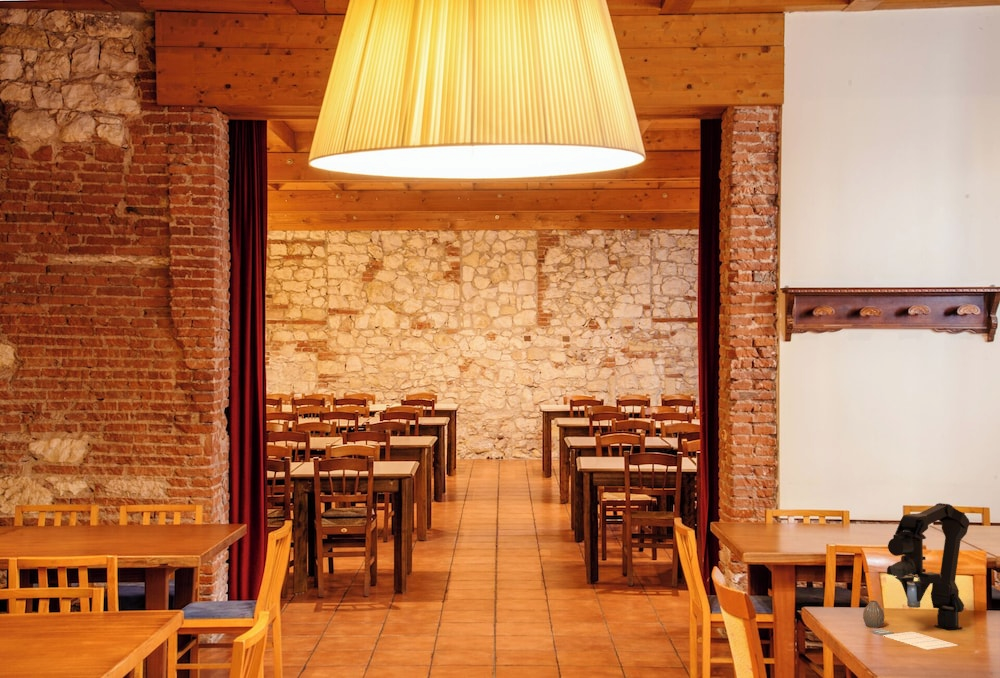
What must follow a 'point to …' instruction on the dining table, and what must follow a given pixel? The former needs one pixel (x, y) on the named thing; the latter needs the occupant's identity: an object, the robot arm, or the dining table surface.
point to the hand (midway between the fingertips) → (913, 600)
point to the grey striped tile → (882, 632)
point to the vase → (873, 615)
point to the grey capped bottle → (912, 595)
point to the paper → (920, 640)
